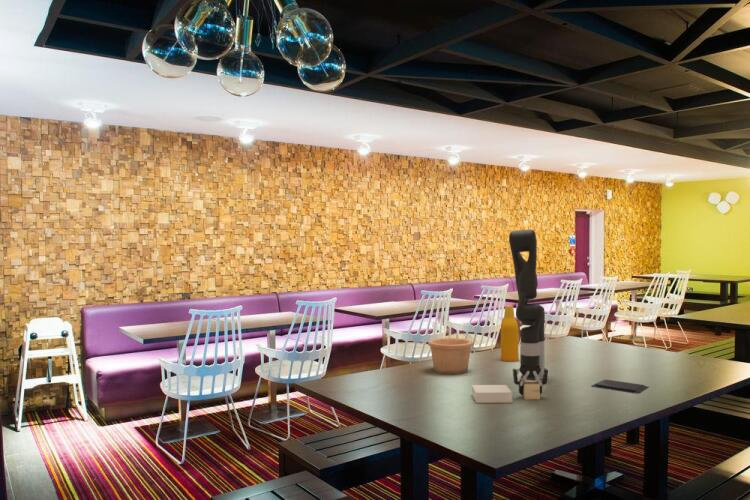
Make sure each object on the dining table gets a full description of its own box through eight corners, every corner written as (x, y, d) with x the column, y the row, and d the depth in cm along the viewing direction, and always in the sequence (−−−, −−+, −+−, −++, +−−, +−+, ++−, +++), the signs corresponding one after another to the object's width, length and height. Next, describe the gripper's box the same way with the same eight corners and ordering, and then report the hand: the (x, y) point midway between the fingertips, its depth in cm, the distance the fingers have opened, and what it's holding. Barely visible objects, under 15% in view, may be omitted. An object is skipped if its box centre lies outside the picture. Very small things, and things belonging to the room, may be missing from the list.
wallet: (589, 383, 245) (603, 377, 256) (589, 387, 245) (603, 381, 256) (638, 391, 231) (650, 384, 242) (638, 395, 231) (650, 388, 242)
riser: (471, 394, 234) (471, 385, 234) (506, 394, 233) (505, 384, 233) (476, 402, 222) (476, 392, 222) (512, 402, 221) (512, 392, 221)
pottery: (481, 372, 274) (481, 343, 274) (441, 377, 266) (441, 346, 266) (459, 364, 294) (458, 336, 294) (421, 368, 286) (420, 339, 286)
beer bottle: (497, 359, 306) (496, 305, 306) (511, 357, 310) (510, 304, 310) (508, 362, 298) (507, 307, 297) (522, 360, 302) (521, 306, 301)
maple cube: (521, 395, 232) (521, 380, 232) (536, 395, 232) (535, 380, 232) (524, 399, 226) (524, 384, 226) (539, 399, 226) (539, 384, 226)
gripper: (545, 351, 232) (545, 392, 232) (510, 351, 233) (510, 392, 233) (550, 355, 225) (550, 397, 225) (513, 355, 225) (514, 397, 225)
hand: (530, 394), depth 229 cm, fingers open, 6 cm apart
